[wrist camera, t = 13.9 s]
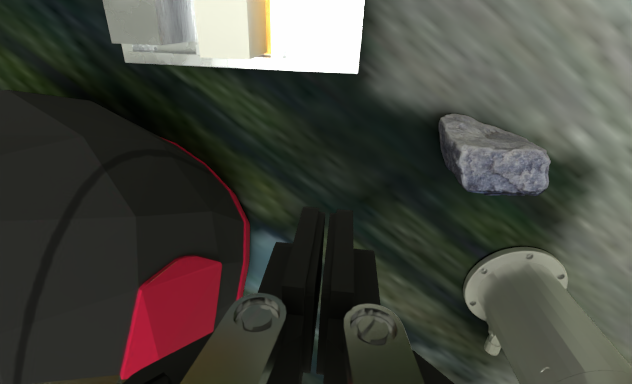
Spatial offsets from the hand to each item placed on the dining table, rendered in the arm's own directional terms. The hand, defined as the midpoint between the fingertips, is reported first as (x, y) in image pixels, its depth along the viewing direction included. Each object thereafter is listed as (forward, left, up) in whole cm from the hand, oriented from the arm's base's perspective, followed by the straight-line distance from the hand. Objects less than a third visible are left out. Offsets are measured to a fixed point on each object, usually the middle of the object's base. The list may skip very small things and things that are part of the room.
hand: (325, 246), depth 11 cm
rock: (-3, -15, -27) cm, 31 cm away
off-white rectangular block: (+9, +9, -26) cm, 29 cm away
